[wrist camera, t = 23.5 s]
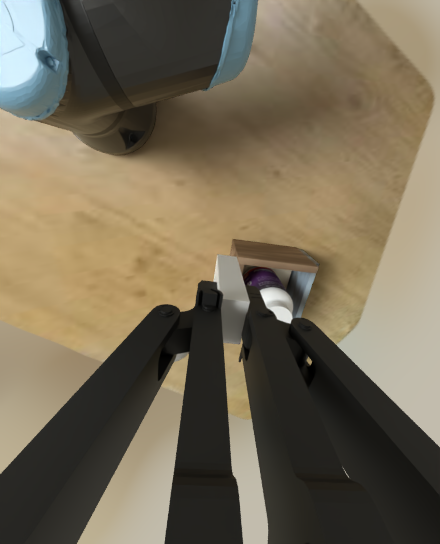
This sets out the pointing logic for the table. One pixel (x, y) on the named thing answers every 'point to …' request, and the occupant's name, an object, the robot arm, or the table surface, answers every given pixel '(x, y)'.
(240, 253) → the wooden drawer box
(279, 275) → the grey drawer
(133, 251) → the table surface
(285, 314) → the pill bottle
